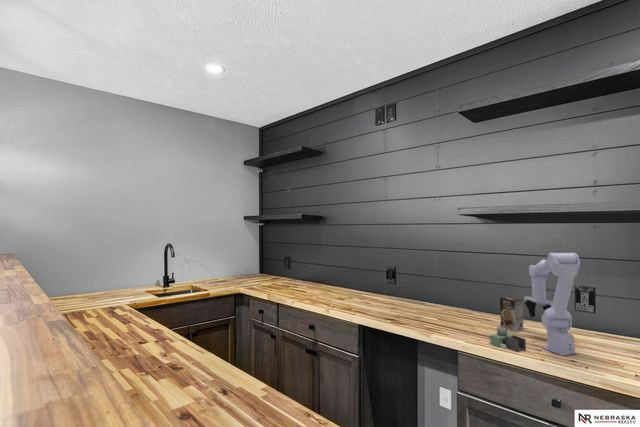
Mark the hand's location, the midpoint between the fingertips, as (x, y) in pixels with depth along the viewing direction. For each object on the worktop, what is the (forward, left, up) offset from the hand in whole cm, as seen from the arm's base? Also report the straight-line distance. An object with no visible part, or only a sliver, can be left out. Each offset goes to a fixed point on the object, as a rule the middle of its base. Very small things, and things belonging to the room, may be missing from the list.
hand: (539, 318), depth 165 cm
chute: (-6, +23, -10) cm, 26 cm away
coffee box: (+16, 0, -10) cm, 19 cm away
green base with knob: (-1, +23, -9) cm, 25 cm away
